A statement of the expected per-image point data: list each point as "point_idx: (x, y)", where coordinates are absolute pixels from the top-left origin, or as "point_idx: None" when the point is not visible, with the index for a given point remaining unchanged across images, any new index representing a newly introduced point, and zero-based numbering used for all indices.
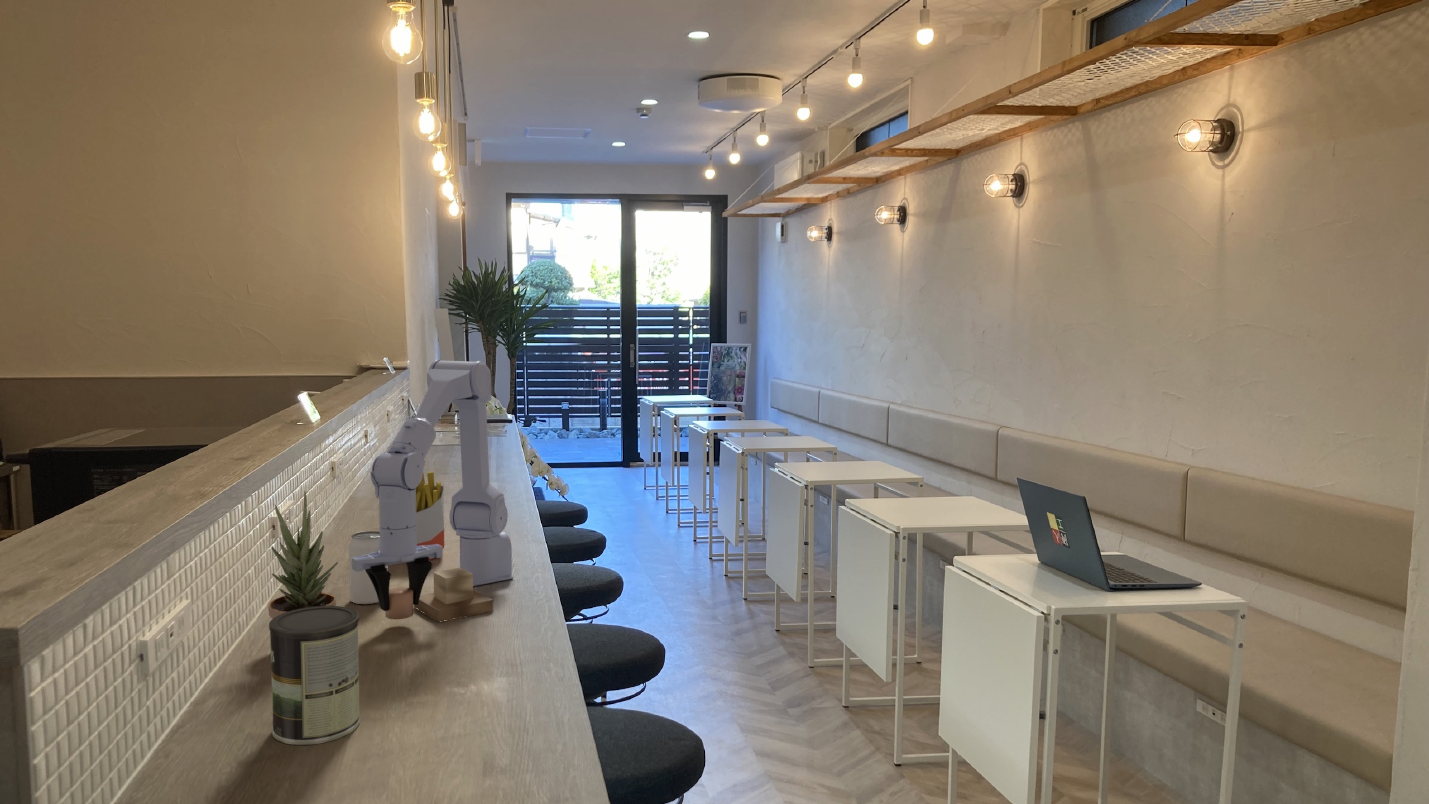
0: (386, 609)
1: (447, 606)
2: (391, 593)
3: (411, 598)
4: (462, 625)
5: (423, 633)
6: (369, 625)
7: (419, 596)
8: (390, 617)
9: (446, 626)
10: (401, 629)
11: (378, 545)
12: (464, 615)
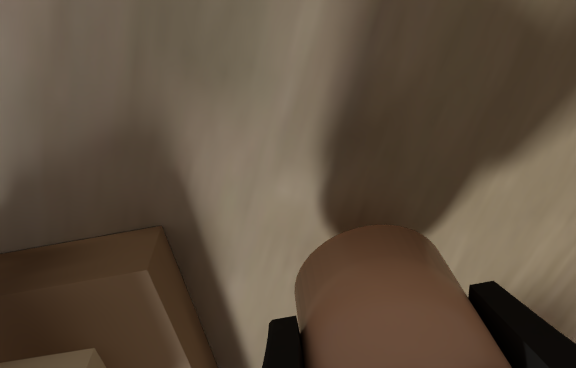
0: (493, 286)
1: (87, 316)
2: None
3: (337, 340)
4: (26, 130)
5: (277, 94)
6: None
7: (267, 362)
8: (439, 254)
9: (127, 153)
10: (361, 204)
11: None
12: (11, 256)
